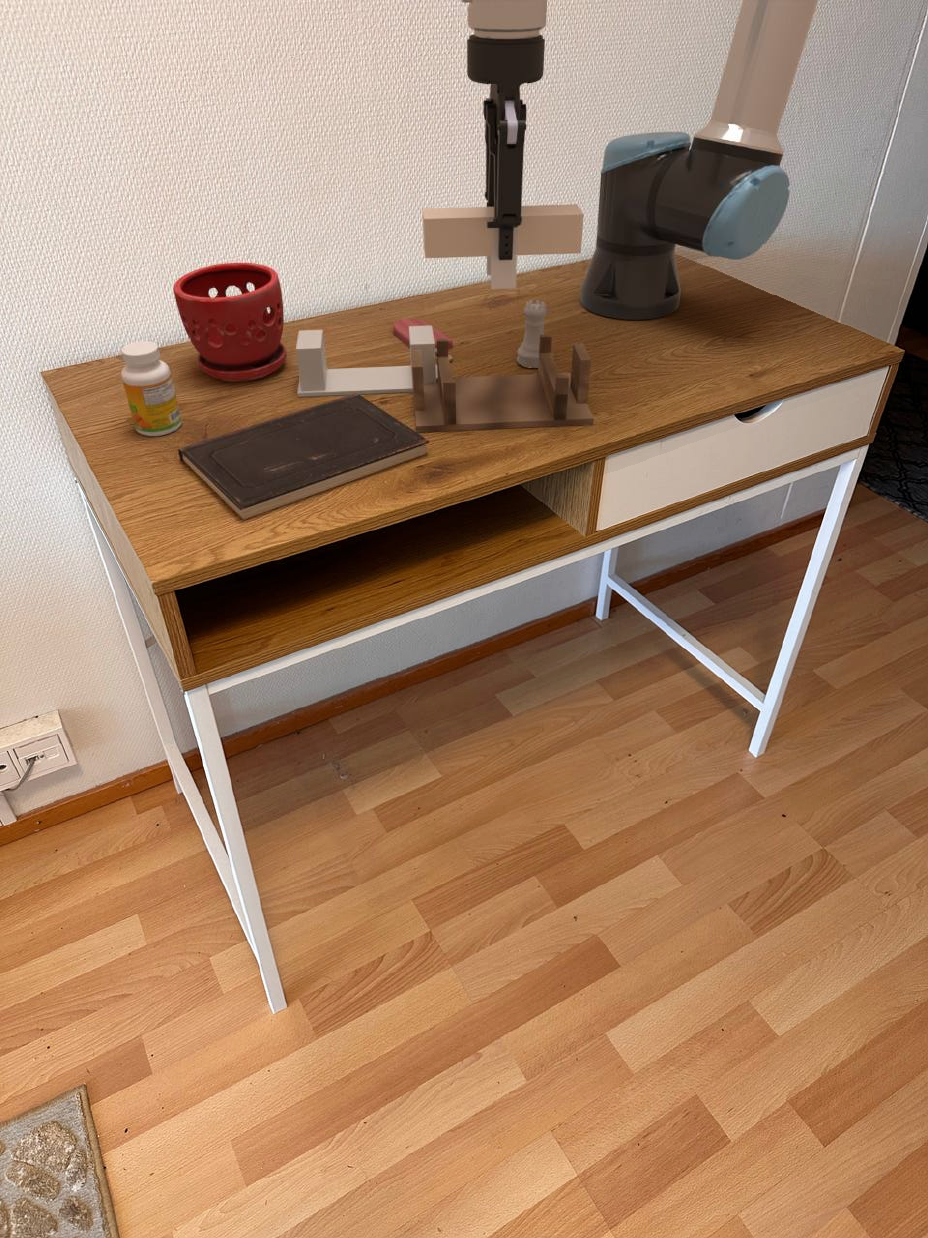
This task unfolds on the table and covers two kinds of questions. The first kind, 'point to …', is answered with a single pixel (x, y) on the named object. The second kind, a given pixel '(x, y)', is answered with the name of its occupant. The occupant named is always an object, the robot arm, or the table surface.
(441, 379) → the rack
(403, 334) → the popsicle
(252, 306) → the plant pot
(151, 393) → the supplement bottle
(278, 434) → the hardcover book
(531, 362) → the rook chess piece
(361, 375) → the stand
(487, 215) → the beige rectangular bar
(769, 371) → the table surface
